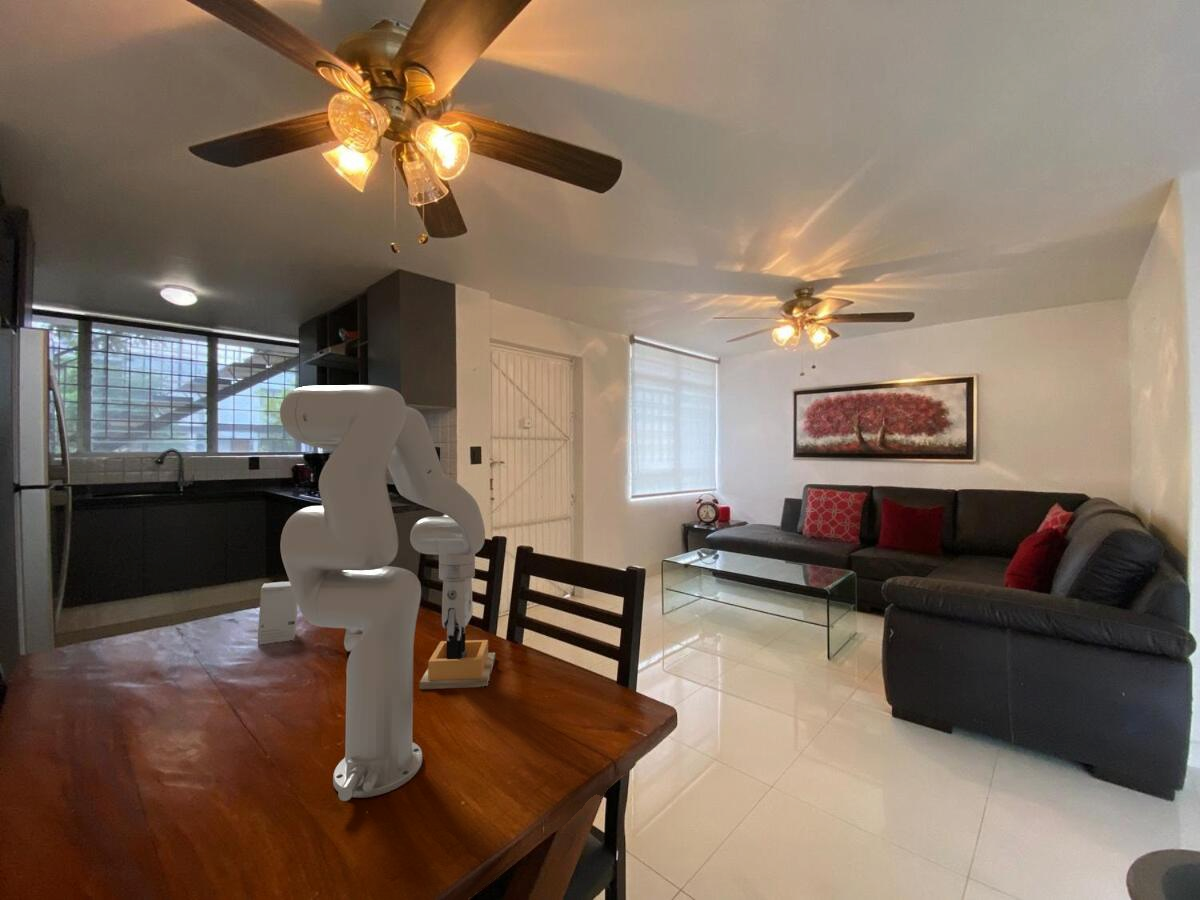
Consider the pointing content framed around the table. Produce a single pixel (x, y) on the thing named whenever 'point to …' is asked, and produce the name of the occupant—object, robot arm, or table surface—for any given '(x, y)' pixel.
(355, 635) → the plastic bottle
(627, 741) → the table surface
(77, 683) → the table surface
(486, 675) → the board
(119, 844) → the table surface
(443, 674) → the tan square frame
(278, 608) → the skincare box
